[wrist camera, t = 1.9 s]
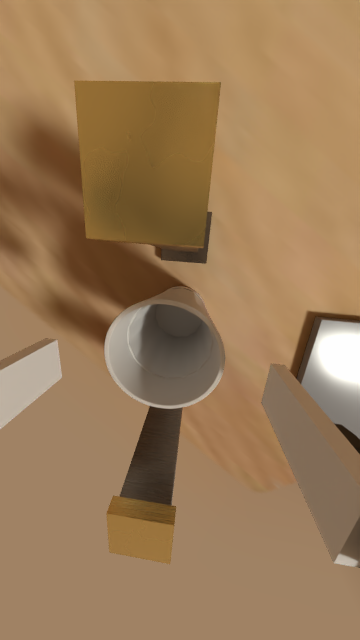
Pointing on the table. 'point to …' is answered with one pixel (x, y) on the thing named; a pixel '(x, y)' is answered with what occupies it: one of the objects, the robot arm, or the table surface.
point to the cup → (165, 350)
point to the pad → (334, 370)
